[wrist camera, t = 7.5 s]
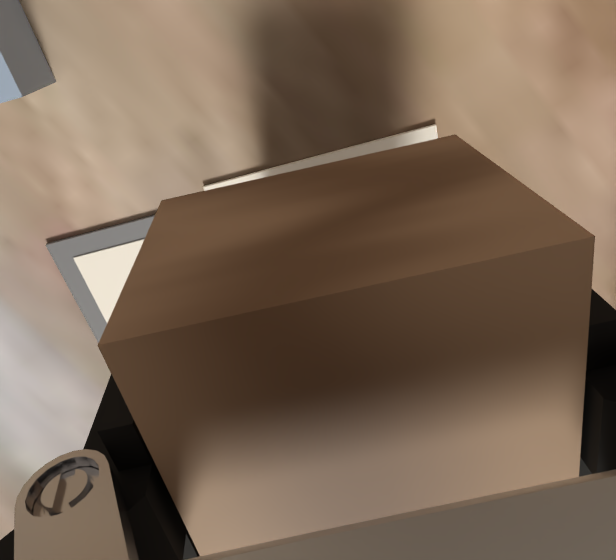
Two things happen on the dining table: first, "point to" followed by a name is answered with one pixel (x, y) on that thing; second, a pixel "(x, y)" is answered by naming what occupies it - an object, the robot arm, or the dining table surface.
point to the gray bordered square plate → (99, 267)
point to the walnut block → (354, 343)
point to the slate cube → (20, 55)
